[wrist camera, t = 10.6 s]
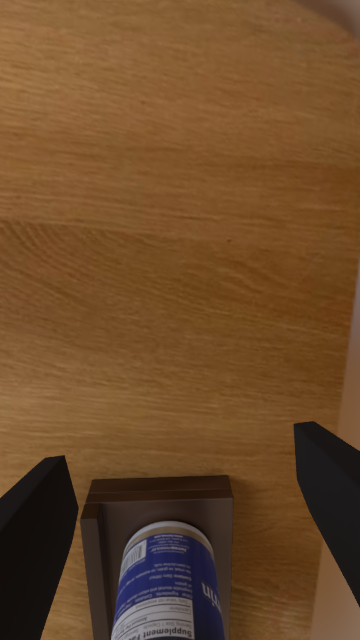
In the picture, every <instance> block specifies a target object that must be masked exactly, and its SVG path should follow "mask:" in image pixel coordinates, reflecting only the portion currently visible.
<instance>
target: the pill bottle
mask: <svg viewBox="0 0 360 640" xmlns="http://www.w3.org/2000/svg"><path fill="white" fill-rule="evenodd" d="M111 640H225V635H224V628H223V620H222V613H221V605H220V598H219V590H218V583H217V576H216V568H215V561H214V554H213V550H212V547H211V545H210V543H209V541H208V540H207V538H206V537H205V536H204V535H203V534H202V533H201V532H200V531H199V530H198V529H196V528H195V527H193V526H191V525H188V524H186V523H182V522H177V521H161V522H156V523H153V524H150V525H148V526H146V527H144V528H142V529H141V530H139V531H138V532H137V533H136V534H134V536H133V537H132V538H131V539H130V540H129V542H128V544H127V546H126V548H125V550H124V554H123V559H122V564H121V572H120V578H119V586H118V593H117V601H116V608H115V616H114V623H113V630H112V636H111Z"/></svg>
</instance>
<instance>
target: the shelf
mask: <svg viewBox="0 0 360 640" xmlns="http://www.w3.org/2000/svg"><path fill="white" fill-rule="evenodd" d="M161 521H177V522H182V523H186V524H188V525H191V526H193V527H195V528H196V529H198V530H199V531H200V532H201V533H202V534H203V535H204V536H205V537H206V538H207V540H208V541H209V543H210V545H211V547H212V550H213V554H214V561H215V568H216V576H217V583H218V590H219V598H220V605H221V613H222V620H223V628H224V635H225V640H229V633H230V597H231V562H232V526H233V495H232V491H231V486H230V482H229V477H228V476H199V477H168V478H137V479H107V480H92V483H91V486H90V489H89V492H88V496H87V499H86V502H85V505H84V508H83V511H82V515H81V518H80V525H81V533H82V542H83V551H84V559H85V568H86V577H87V585H88V594H89V603H90V611H91V620H92V629H93V637H94V640H111V636H112V630H113V623H114V616H115V608H116V601H117V593H118V586H119V578H120V572H121V564H122V559H123V554H124V550H125V548H126V546H127V544H128V542H129V540H130V539H131V538H132V537H133V536H134V534H136V533H137V532H138V531H139V530H141V529H142V528H144V527H146V526H148V525H150V524H153V523H156V522H161Z"/></svg>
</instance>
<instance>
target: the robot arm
mask: <svg viewBox="0 0 360 640" xmlns="http://www.w3.org/2000/svg"><path fill="white" fill-rule="evenodd" d="M294 439H295V455H296V472H297V481H298V483H299V486H300V488H301V491H302V494H303V496H304V499H305V501H306V504H307V506H308V509H309V511H310V513H311V515H312V517H313V519H314V521H315V523H316V525H317V527H318V529H319V530H320V532H321V534H322V536H323V538H324V540H325V542H326V544H327V545H328V547H329V549H330V551H331V553H332V555H333V557H334V559H335V561H336V562H337V564H338V566H339V568H340V570H341V572H342V574H343V576H344V577H345V579H346V581H347V583H348V585H349V587H350V589H351V591H352V593H353V595H354V596H355V599H356V601H357V603H358V605H359V607H360V451H359V450H357V449H355V448H354V447H352V446H351V445H349V444H348V443H346V442H345V441H343V440H342V439H340V438H339V437H337V436H336V435H334V434H333V433H331V432H329V431H328V430H326V429H325V428H323V427H322V426H320V425H319V424H317V423H316V422H314V421H310V422H303V423H296V424H294ZM78 510H79V508H78V504H77V500H76V496H75V493H74V489H73V485H72V481H71V478H70V474H69V470H68V466H67V463H66V459H65V455H62V456H55V457H48V458H45V459H43V460H42V461H41V462H40V463H38V464H37V465H36V466H35V467H34V468H33V469H32V470H31V471H29V472H28V473H27V474H26V475H25V476H24V477H23V478H22V479H21V480H20V481H19V482H17V483H16V484H15V485H14V486H13V487H12V488H11V489H10V490H9V491H8V492H7V493H5V494H4V495H3V496H2V497H1V498H0V640H40V639H41V635H42V632H43V629H44V626H45V623H46V620H47V617H48V614H49V611H50V608H51V605H52V602H53V599H54V596H55V593H56V590H57V587H58V584H59V581H60V578H61V575H62V572H63V569H64V566H65V563H66V560H67V557H68V554H69V550H70V547H71V544H72V540H73V535H74V531H75V526H76V521H77V515H78Z"/></svg>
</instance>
